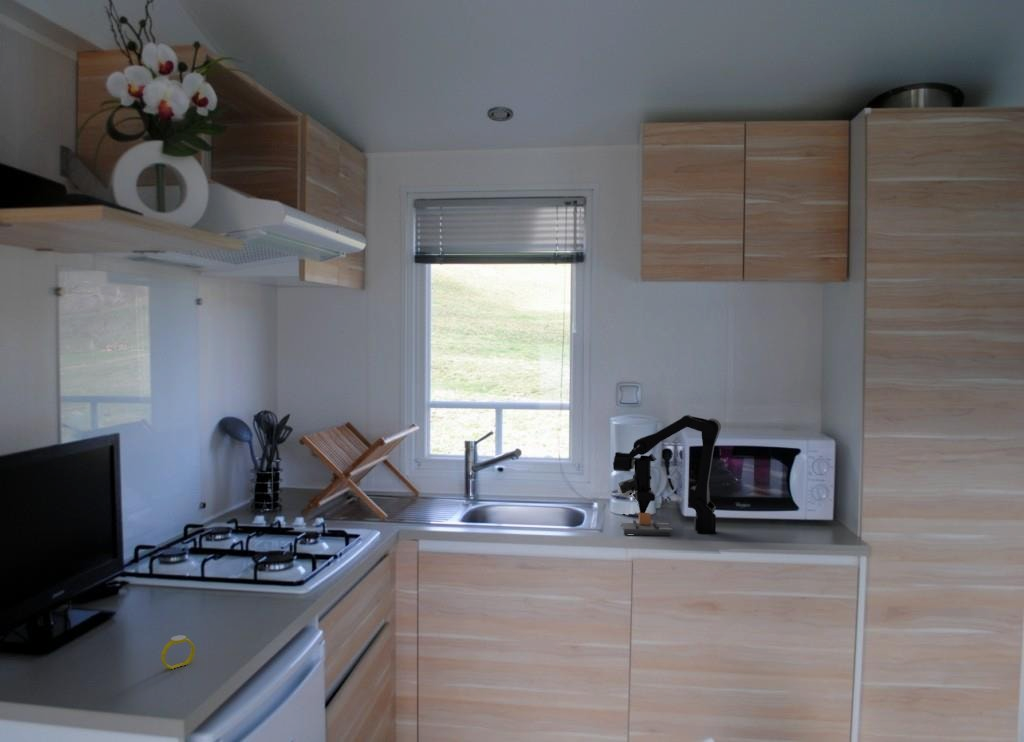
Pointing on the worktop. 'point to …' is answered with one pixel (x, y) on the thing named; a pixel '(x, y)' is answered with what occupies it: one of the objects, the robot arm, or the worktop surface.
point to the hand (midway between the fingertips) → (642, 515)
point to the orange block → (645, 518)
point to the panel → (645, 527)
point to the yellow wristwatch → (178, 640)
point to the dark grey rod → (649, 533)
